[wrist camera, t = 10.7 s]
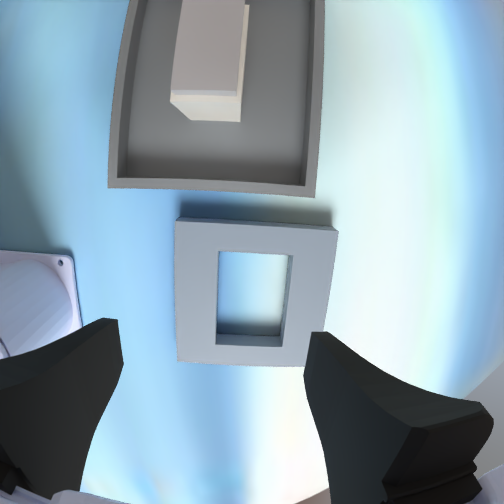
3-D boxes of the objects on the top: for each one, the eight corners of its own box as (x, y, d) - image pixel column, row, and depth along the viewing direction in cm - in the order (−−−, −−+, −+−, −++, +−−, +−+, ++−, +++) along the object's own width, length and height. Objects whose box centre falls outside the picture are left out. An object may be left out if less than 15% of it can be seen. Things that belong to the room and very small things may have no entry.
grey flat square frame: (180, 350, 23) (177, 361, 21) (179, 217, 20) (174, 221, 19) (312, 355, 23) (315, 366, 22) (331, 226, 21) (338, 231, 19)
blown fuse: (190, 120, 18) (164, 97, 11) (198, 46, 16) (179, -6, 10) (240, 121, 18) (241, 98, 11) (246, 47, 17) (250, -6, 10)
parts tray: (121, 185, 19) (107, 188, 17) (144, -3, 16) (134, -19, 13) (305, 194, 20) (314, 197, 18) (315, 2, 16) (324, -14, 14)
